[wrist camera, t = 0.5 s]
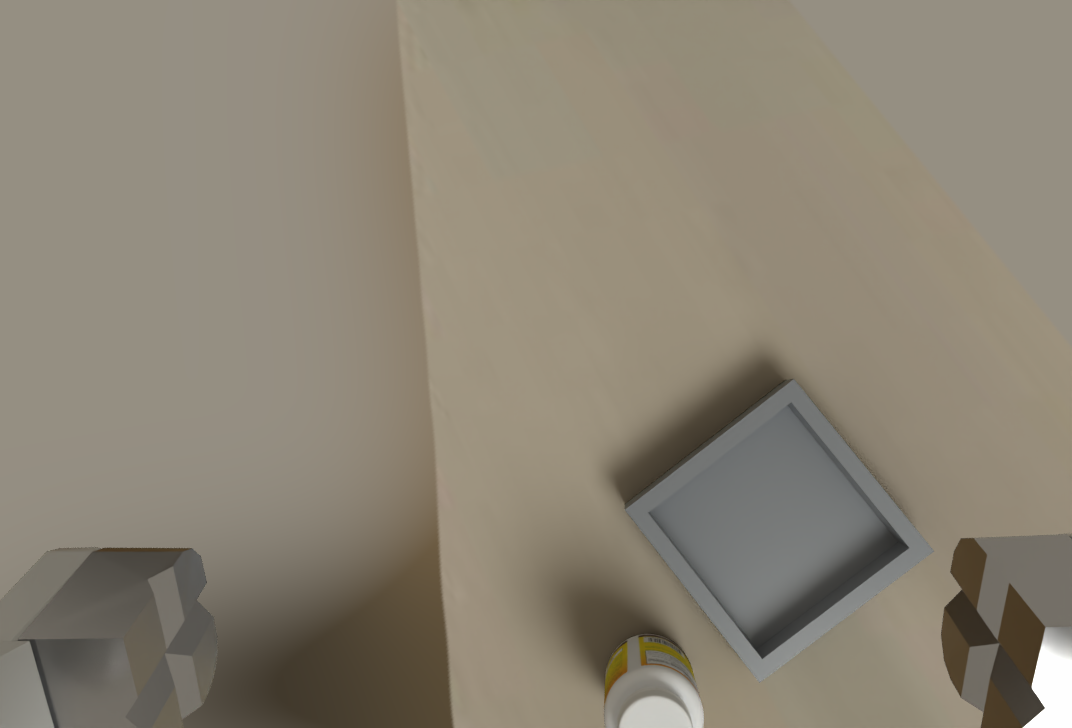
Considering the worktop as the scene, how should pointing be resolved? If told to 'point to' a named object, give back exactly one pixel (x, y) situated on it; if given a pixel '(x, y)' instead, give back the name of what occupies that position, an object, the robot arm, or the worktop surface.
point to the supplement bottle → (651, 686)
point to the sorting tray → (777, 529)
